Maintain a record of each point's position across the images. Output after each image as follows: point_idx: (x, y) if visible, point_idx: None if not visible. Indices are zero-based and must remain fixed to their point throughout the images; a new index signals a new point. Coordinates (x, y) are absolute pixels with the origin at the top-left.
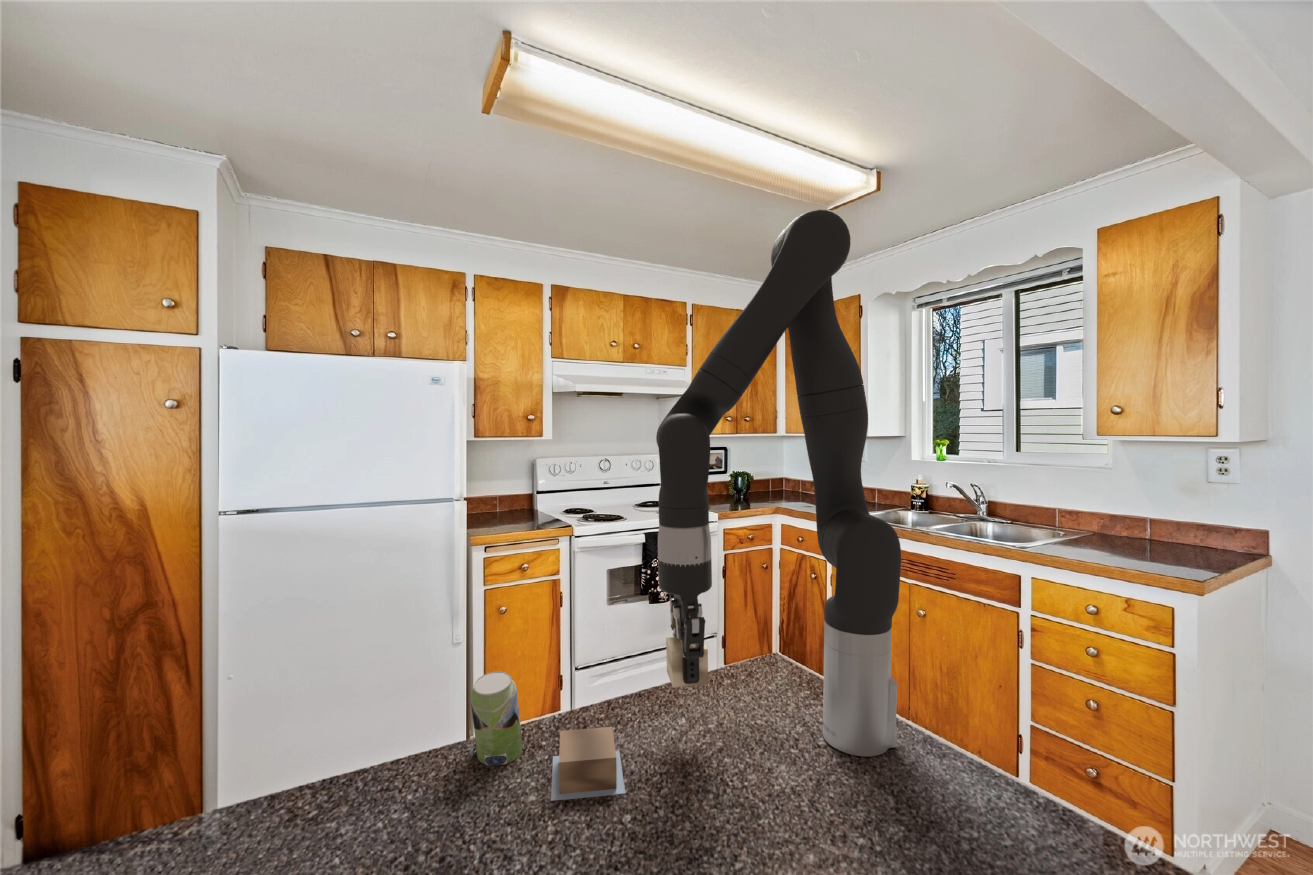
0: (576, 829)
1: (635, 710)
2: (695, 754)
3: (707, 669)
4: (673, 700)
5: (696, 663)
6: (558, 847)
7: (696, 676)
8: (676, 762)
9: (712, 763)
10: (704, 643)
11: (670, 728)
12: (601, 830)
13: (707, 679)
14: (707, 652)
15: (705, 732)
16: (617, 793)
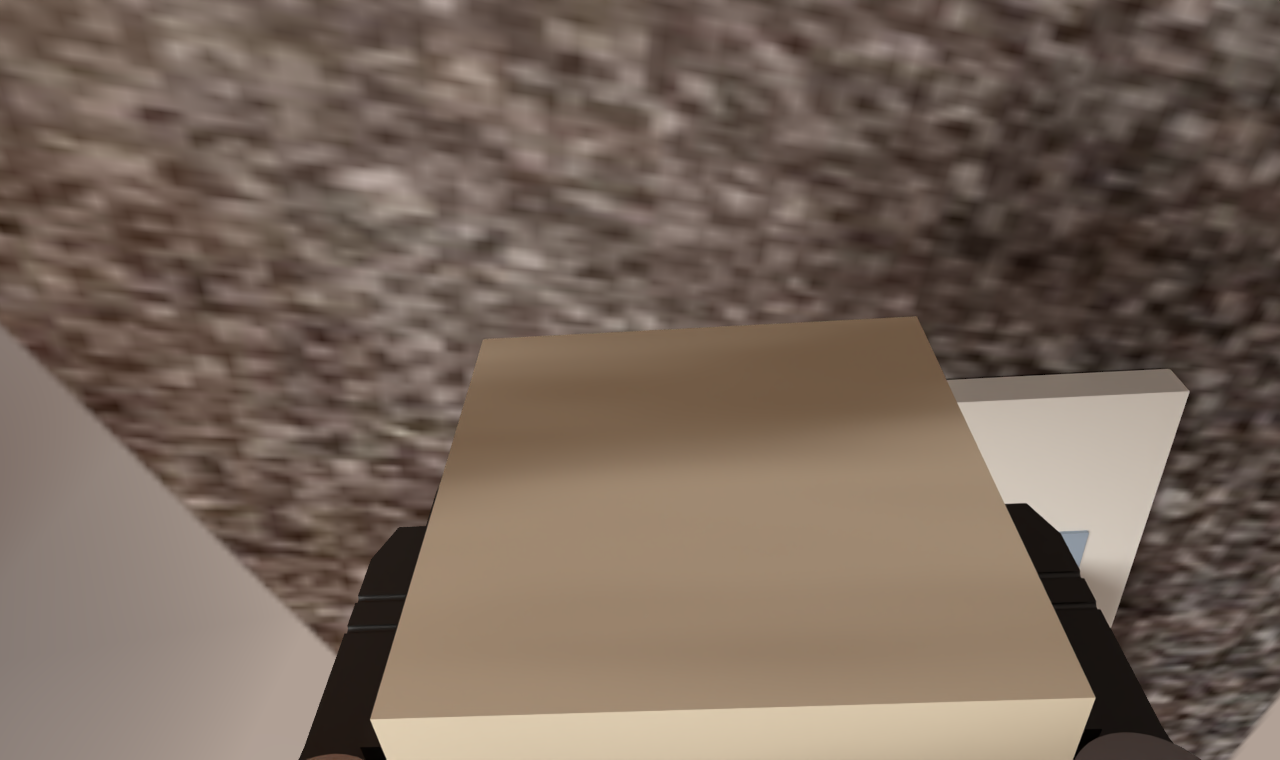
0: (1155, 641)
1: (294, 437)
2: (780, 158)
3: (970, 439)
4: (119, 217)
5: (1134, 695)
6: (1217, 679)
7: (1068, 556)
8: (837, 274)
9: (896, 64)
10: (804, 704)
11: (483, 271)
12: (1199, 577)
13: (929, 357)
14: (1065, 642)
15: (530, 49)
16: (1079, 558)
